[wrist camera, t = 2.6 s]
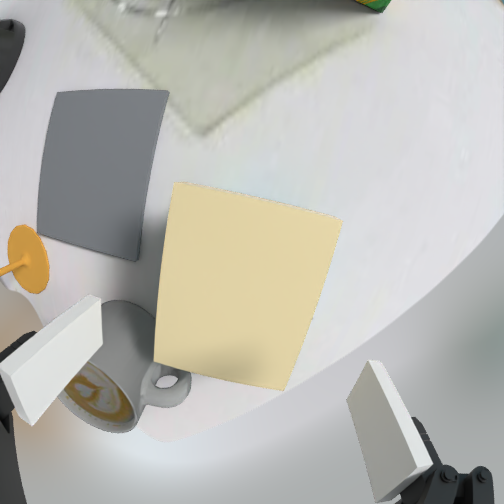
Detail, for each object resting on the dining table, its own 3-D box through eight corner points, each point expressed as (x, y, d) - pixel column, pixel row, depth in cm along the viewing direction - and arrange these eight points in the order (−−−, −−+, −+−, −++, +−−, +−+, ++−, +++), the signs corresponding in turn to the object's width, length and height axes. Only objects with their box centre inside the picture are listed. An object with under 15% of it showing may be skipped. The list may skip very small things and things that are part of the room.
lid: (165, 340, 22) (153, 361, 19) (187, 181, 18) (174, 182, 15) (282, 367, 22) (283, 390, 19) (330, 214, 18) (342, 221, 15)
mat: (40, 231, 25) (36, 232, 24) (60, 93, 21) (57, 92, 20) (138, 260, 25) (135, 261, 25) (169, 92, 21) (167, 90, 20)
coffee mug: (93, 354, 29) (52, 403, 19) (93, 287, 26) (37, 330, 17) (191, 393, 29) (171, 458, 20) (208, 329, 27) (184, 398, 17)
